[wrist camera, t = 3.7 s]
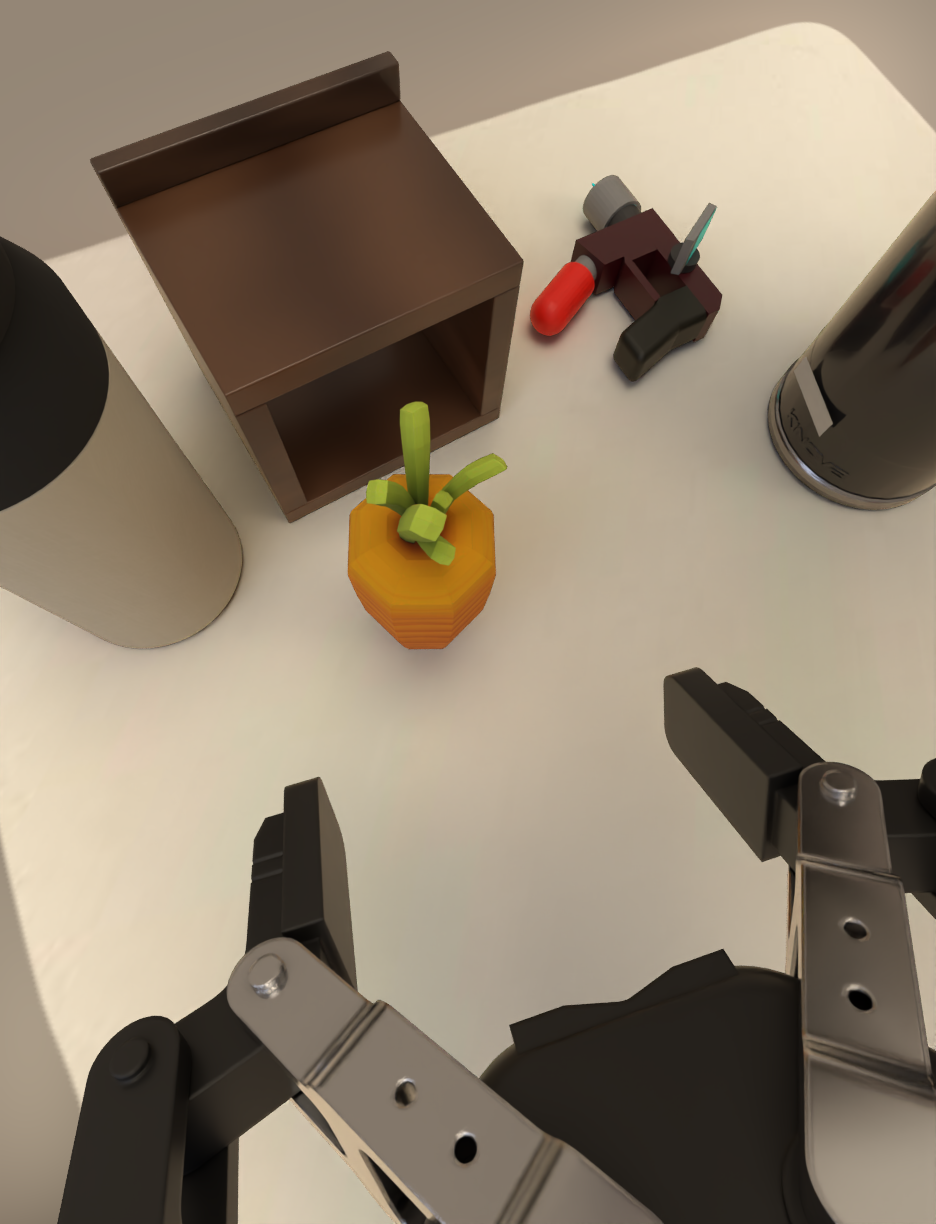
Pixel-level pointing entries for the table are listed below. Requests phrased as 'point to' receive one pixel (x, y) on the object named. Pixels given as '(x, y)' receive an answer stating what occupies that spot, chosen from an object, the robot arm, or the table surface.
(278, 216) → the shelf
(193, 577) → the travel mug
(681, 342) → the toy gun
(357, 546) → the carrot
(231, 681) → the table surface
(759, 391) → the table surface
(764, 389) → the table surface
